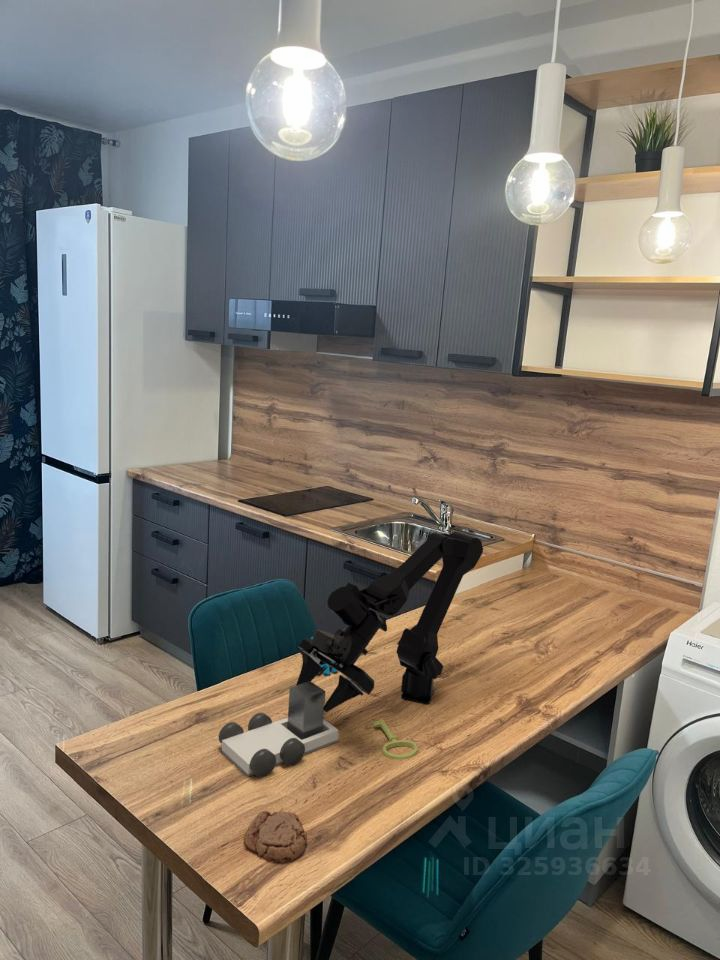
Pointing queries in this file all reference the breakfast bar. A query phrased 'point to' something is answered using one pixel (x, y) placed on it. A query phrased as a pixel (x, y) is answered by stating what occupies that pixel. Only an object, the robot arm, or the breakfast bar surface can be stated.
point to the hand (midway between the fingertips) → (310, 700)
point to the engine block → (306, 710)
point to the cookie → (276, 836)
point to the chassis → (269, 744)
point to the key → (395, 742)
